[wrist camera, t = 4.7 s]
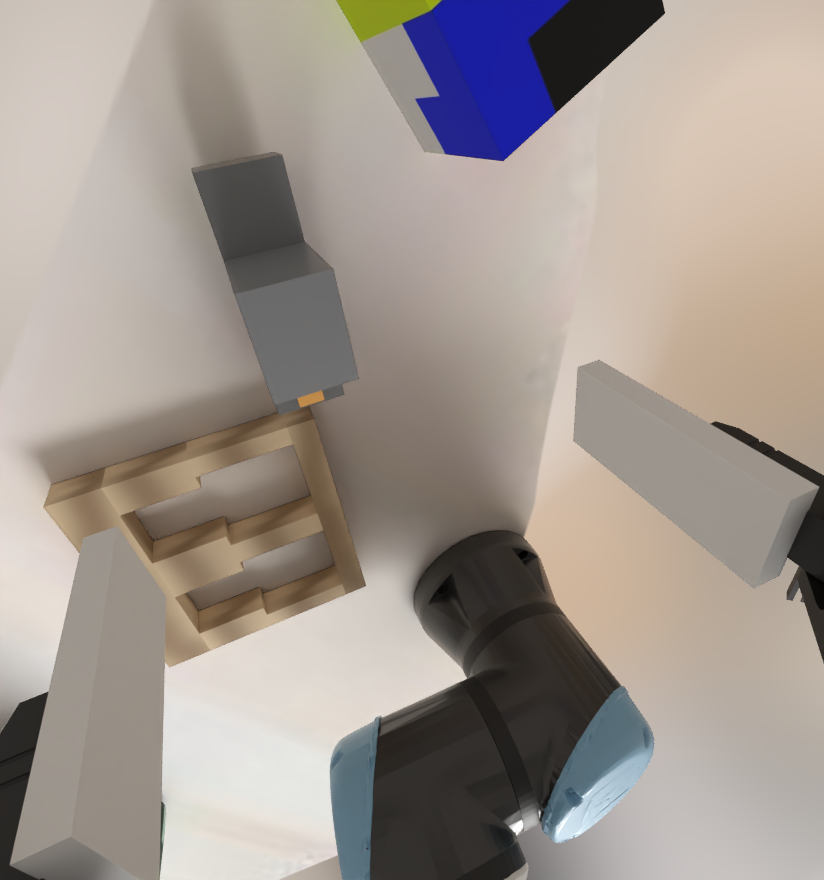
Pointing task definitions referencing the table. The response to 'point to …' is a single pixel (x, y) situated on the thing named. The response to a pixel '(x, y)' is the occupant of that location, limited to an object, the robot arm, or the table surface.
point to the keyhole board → (217, 530)
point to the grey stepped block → (278, 281)
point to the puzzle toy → (491, 62)
